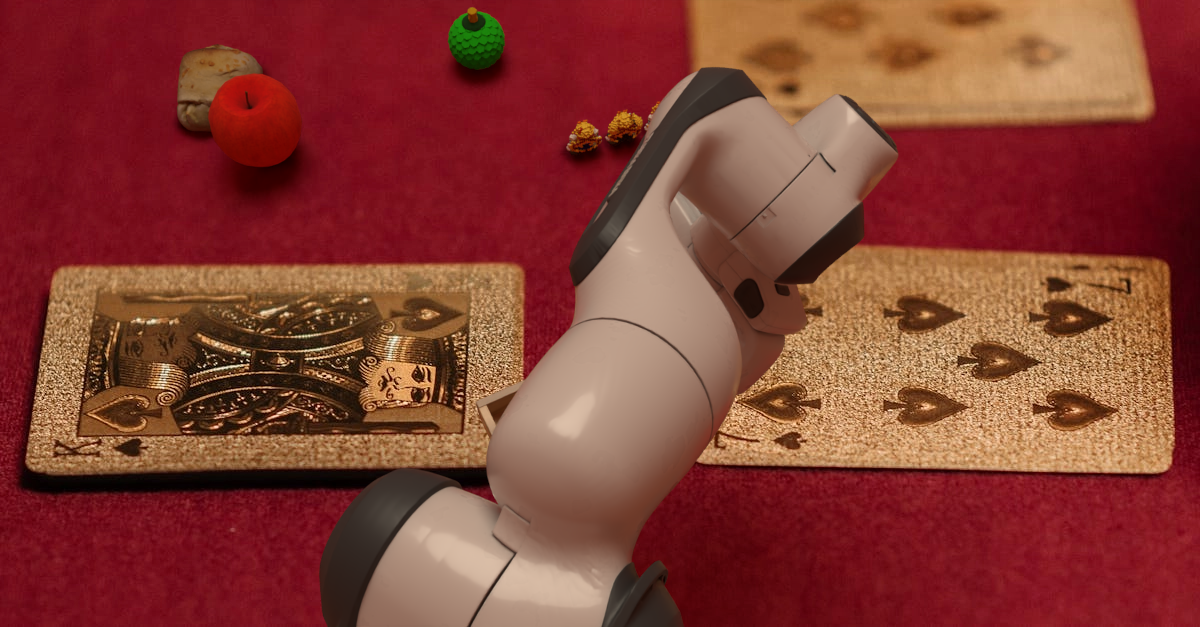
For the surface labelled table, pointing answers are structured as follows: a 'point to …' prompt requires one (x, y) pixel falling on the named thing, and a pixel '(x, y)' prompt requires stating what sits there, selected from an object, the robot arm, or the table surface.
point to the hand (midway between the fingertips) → (638, 343)
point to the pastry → (208, 81)
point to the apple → (255, 120)
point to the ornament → (476, 40)
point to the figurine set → (617, 133)
